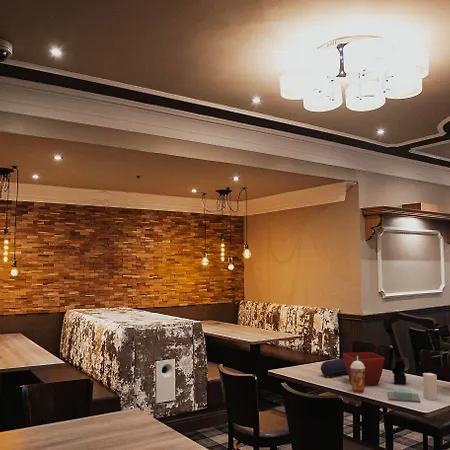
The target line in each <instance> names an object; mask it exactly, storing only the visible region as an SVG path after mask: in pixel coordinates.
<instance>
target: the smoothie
mask: <svg viewBox="0 0 450 450" xmlns="http://www.w3.org/2000/svg"><path fill="white" fill-rule="evenodd" d="M350 370H351V381H350V382H351V389H352V391H353V392H354V393H359V394H361V393H363V392H364V391H365V386H364V382H365V367H364V364H363V363H362V362H361V361H358V356H357V361H354V362H353V363H352V364H351V366H350Z"/></svg>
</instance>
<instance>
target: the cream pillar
mask: <svg viewBox="0 0 450 450" xmlns="http://www.w3.org/2000/svg"><path fill="white" fill-rule="evenodd" d="M437 377H438V376H437V374H435V373H432V372H424V373H422V387H423V388H422V389H423V392H422V393H423V398H424V399H426V400H428V401H438V382H437V381H438V378H437Z"/></svg>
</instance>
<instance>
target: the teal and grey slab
mask: <svg viewBox="0 0 450 450" xmlns="http://www.w3.org/2000/svg"><path fill="white" fill-rule="evenodd" d="M387 400H388V401H391V402H393V401H394V402H395V401H396V402H404V403H405V402H407V403H418V404H419V403H420V404H421V399H420V396H419V394H418V393H413V392H412V389H408V388H407V389H406V388H395V389H394V391H387Z"/></svg>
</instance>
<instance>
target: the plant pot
mask: <svg viewBox="0 0 450 450" xmlns="http://www.w3.org/2000/svg"><path fill="white" fill-rule="evenodd" d="M342 356H343V358H344V362H345V366H346V370H347V373H348V374H347V376H348V378H349V381H350V382H351V370H350V366H351V364H352V363H353V362H354V361H357V356H358V361H361V362H362V363H363V364H364V367H365V382H364V387H367V386H378V385H379V383H380V380H381V378H382V374H383V369H384V364H385V357H383V356H381V355H379V354H376V353H374V352H369V351H365V352H343V353H342ZM343 358H342V359H343Z"/></svg>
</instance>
